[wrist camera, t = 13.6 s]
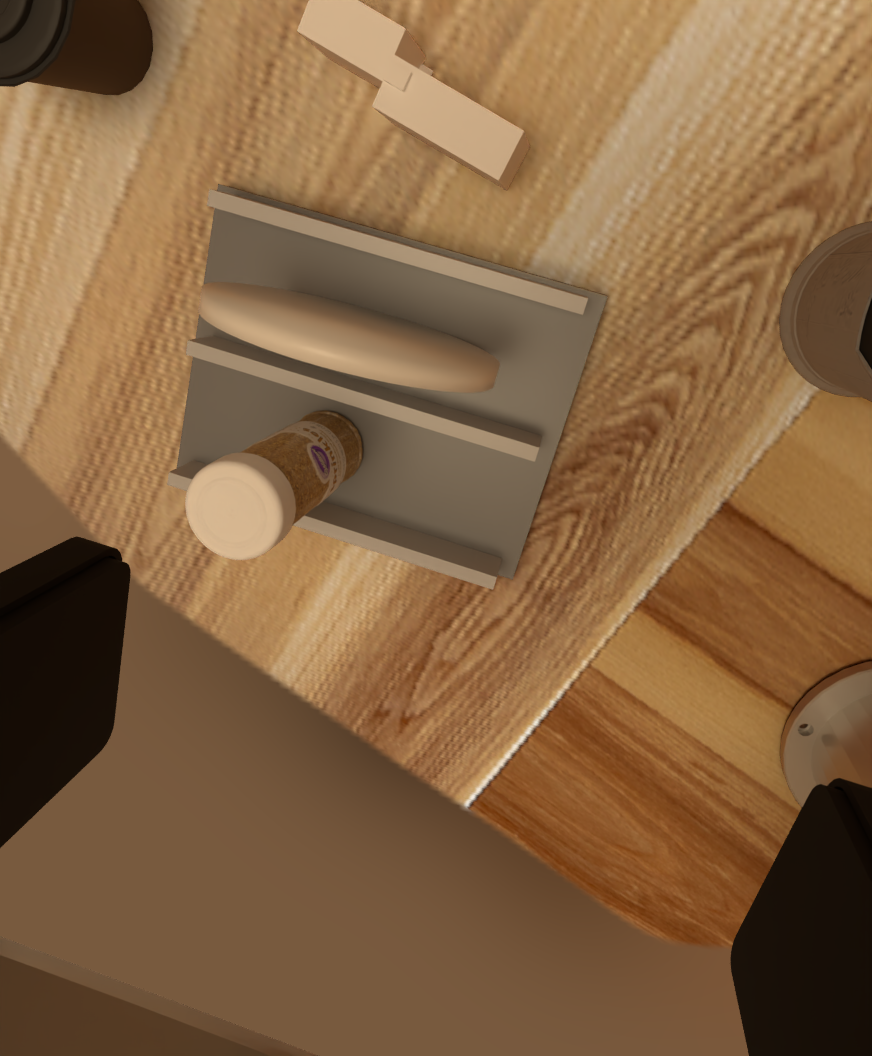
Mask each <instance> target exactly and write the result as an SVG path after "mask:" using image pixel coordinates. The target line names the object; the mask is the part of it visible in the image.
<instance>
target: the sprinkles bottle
mask: <svg viewBox="0 0 872 1056" xmlns="http://www.w3.org/2000/svg"><path fill="white" fill-rule="evenodd" d="M362 454H363V448H362V442H361V437H360V435H359V433H358V430H357V429H356V428H355V427H354V425H353V424H352V423H351V422H350V421H349V420H348V419H346V418H345V417H343V416H341V415H339V414H338V413H335V412H331V411H316V412H313V413H310V414H307V415H305V416H304V417H303V418H302V419H301V420H300V421H298V422H295V423H293V424H291V425H288V426H286V427H285V428H283V429H281V430H279V431H277V432H275V433H273V434H271V435H269V436H268V437H266V438H264V439H262V440H260V441H258V442H256V443H254V444H252V445H251V446H249V447H248V448H247V449H245V450H243V451H242V452H240V453H232V454H229V455H226V456H223V457H221V458H219V459H217V460H216V461H214V462H212V463H210V464H208V465H207V466H205V467H204V468H202V469H201V470H200V471H199V472H198V473H197V474H196V475H195V476H194V478H193V479H192V481H191V483H190V485H189V487H188V490H187V493H186V499H185V507H186V515H187V519H188V522H189V524H190V527H191V529H192V531H193V532H194V534H195V535H196V537H197V538H198V539H199V540H200V542H201V543H202V544H204V545H205V546H206V547H207V548H208V549H210V550H211V551H212V552H214V553H216V554H218V555H220V556H222V557H225V558H229V559H234V560H248V559H253V558H256V557H259V556H261V555H263V554H265V553H266V552H268V551H269V550H270V549H272V548H273V547H274V546H276V545H277V544H278V543H279V542H280V541H281V540H283V539H284V538H285V536H286V535H287V534H288V532H289V531H290V529H291V527H292V525H293V524H295V523H296V522H297V521H299V520H300V519H301V518H302V517H303V516H304V515H305V514H307V513H308V512H309V511H310V510H311V509H313V508H314V507H315V506H318V505H319V504H320V503H321V502H323V501H324V500H325V499H326V498H327V497H328V496H329V495H331V494H332V493H333V492H334V491H335V490H336V489H337V488H338V487H339V485H340V484H341V483H342V482H344V481H346V480H348V479H349V478H350V477H351V476H353V475H354V474H355V472H356V470H357V469H358V468H359V466H360V464H361V460H362Z"/></svg>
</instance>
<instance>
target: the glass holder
mask: <svg viewBox="0 0 872 1056" xmlns="http://www.w3.org/2000/svg"><path fill="white" fill-rule="evenodd" d="M779 324H780V336H781V340H782V345H783V348H784V351H785V353H786V355H787V357H788V359H789V361H790V363H791V364H792V365H793V367H794V368H795V369H796V371H797V372H798V373H799V374H800V375H801V376H802V377H803V378H805V379H806V380H807V381H808V382H809V383H811V384H813V385H814V386H816V387H818V388H819V389H822V390H824V391H827V392H830V393H832V394H836V395H842V396H847V397H863V398H865V399H867V400H869V401H872V222H867V223H861V224H858V225H855V226H853V227H850V228H847V229H844V230H843V231H841V232H839V233H837V234H835V235H833V236H832V237H830V238H828V239H827V240H826V241H824V242H823V243H822V244H820V245H819V246H818V247H816V248H815V249H814V250H813V251H812V252H811V253H810V254H809V255H808V256H807V257H806V258H805V259H804V260H803V262H802V263H801V264H800V266H799V267H798V269H797V270H796V271H795V273H794V274H793V276H792V278H791V280H790V282H789V284H788V286H787V288H786V291H785V294H784V297H783V300H782V303H781V310H780V318H779Z"/></svg>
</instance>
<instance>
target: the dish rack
mask: <svg viewBox="0 0 872 1056" xmlns="http://www.w3.org/2000/svg"><path fill="white" fill-rule="evenodd" d="M207 206H210V207H214V208H215V210H214V217H213V224H212V230H211V237H210V244H209V251H208V258H207V265H206V272H205V278H204V285H203V286H202V289H201V295H200V302H199V310H198V313H199V319H198V326H197V333H196V339H192V340H188V343H187V350H186V355H189V356H192V357H193V361H192V367H191V374H190V381H189V388H188V395H187V402H186V408H185V415H184V422H183V429H182V436H181V443H180V450H179V456H178V463H177V469H175V470H173V471H170V472H169V477H168V484H167V485H170V486H173V487H176V488H179V489H182V490H185V491H187V490H188V487H189V485H190V483H191V481H192V479H193V478H194V476H195V475H196V474H197V473H198V472H199V471H200V470H201V469H202V468H204V467H205V466H207V465H208V464H210V463H212V462H214V461H216V460H217V459H219V458H221V457H223V456H226V455H229V454H232V453H240V452H242V451H243V450H245V449H247V448H248V447H249V446H251V445H252V444H254V443H256V442H258V441H260V440H262V439H264V438H266V437H268V436H269V435H271V434H273V433H275V432H277V431H279V430H281V429H283V428H285V427H286V426H288V425H291V424H293V423H295V422H298V421H300V420H301V419H302V418H303V417H304V416H305V415H307V414H310V413H313V412H316V411H331V412H335V413H338V414H339V415H341V416H343V417H345V418H346V419H348V420H349V421H350V422H351V423H352V424H353V425H354V427H355V428H356V429H357V430H358V433H359V435H360V437H361V442H362V448H363V454H362V460H361V464H360V466H359V468H358V469H357V470H356V472H355V474H354V475H353V476H351V477H350V478H349V479H348V480H346V481H344V482H342V483H341V484H340V485H339V487H338V488H337V489H336V490H335V491H334V492H333V493H332V494H331V495H329V496H328V497H327V498H326V499H325V500H324V501H323V502H321V503H320V504H319V505H318V506H315V507H314V508H313V509H311V510H310V511H309V512H308V513H307V514H305V515H304V516H303V517H302V518H301V519H300V520H299V521H297V522H296V523H295V524H293V525H294V526H297V527H300V528H303V529H306V530H309V531H312V532H315V533H319V534H322V535H325V536H328V537H331V538H334V539H337V540H340V541H343V542H346V543H350V544H353V545H356V546H359V547H362V548H365V549H368V550H371V551H374V552H377V553H381V554H384V555H387V556H390V557H393V558H396V559H399V560H402V561H405V562H408V563H412V564H415V565H418V566H421V567H424V568H427V569H430V570H433V571H436V572H440V573H443V574H446V575H449V576H452V577H455V578H458V579H461V580H464V581H467V582H471V583H474V584H477V585H480V586H483V587H486V588H489V589H492V590H493V588H494V585H495V582H496V579H497V575H500V576H503V577H506V578H509V579H512V580H513V577H514V574H515V571H516V568H517V565H518V562H519V559H520V556H521V553H522V550H523V547H524V544H525V541H526V538H527V535H528V532H529V529H530V526H531V523H532V520H533V517H534V514H535V511H536V508H537V505H538V502H539V499H540V496H541V493H542V490H543V487H544V484H545V481H546V478H547V475H548V472H549V469H550V466H551V463H552V460H553V457H554V454H555V452H556V449H557V446H558V443H559V440H560V437H561V434H562V431H563V428H564V425H565V422H566V419H567V416H568V413H569V410H570V407H571V404H572V401H573V398H574V395H575V392H576V389H577V386H578V383H579V380H580V377H581V374H582V371H583V368H584V365H585V362H586V359H587V356H588V353H589V350H590V347H591V344H592V341H593V338H594V335H595V332H596V329H597V326H598V323H599V320H600V318H601V315H602V312H603V309H604V306H605V303H606V300H607V297H608V296H607V295H603V294H600V293H596V292H593V291H589V290H586V289H582V288H579V287H575V286H572V285H568V284H565V283H561V282H558V281H554V280H551V279H548V278H544V277H541V276H537V275H534V274H530V273H527V272H523V271H520V270H516V269H513V268H509V267H506V266H502V265H499V264H496V263H492V262H489V261H485V260H482V259H478V258H475V257H471V256H468V255H464V254H461V253H457V252H454V251H450V250H447V249H443V248H440V247H437V246H433V245H430V244H426V243H423V242H419V241H416V240H412V239H409V238H405V237H402V236H398V235H395V234H391V233H388V232H384V231H381V230H378V229H374V228H371V227H367V226H364V225H360V224H357V223H353V222H350V221H346V220H343V219H339V218H336V217H332V216H329V215H325V214H322V213H319V212H315V211H312V210H308V209H305V208H301V207H298V206H294V205H291V204H287V203H284V202H280V201H277V200H273V199H270V198H266V197H263V196H260V195H256V194H253V193H249V192H246V191H242V190H239V189H235V188H232V187H228V186H224V185H220V184H218V189H217V191H216V190H211V189H209V196H208V203H207Z"/></svg>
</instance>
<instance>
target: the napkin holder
mask: <svg viewBox="0 0 872 1056" xmlns="http://www.w3.org/2000/svg"><path fill="white" fill-rule="evenodd" d="M297 32H299V33H300V34H301V35H302V36H303V37H304V38H306V39H307V40H308V41H309V42H310V43H311V44H312V45H314V46H315V47H316V48H317V49H318V50H319V51H321V52H322V53H323V54H324V55H325V56H326V57H328V58H329V59H330V60H332V61H334V62H335V63H337V64H339V65H341V66H342V67H344V68H346V69H347V70H349V71H351V72H352V73H354V74H356V75H358V76H359V77H361V78H363V79H364V80H366V81H368V82H370V83H371V84H373V85H375V86H376V87H378V88H380V89H379V91H378V93H377V96H376V98H375V100H374V103H373V105H372V107H373V108H375V109H376V110H377V111H378V112H379V113H381V114H382V115H383V116H384V117H386V118H387V119H388V120H389V121H391V122H392V123H393V124H394V125H396V126H398V127H399V128H401V129H403V130H404V131H406V132H408V133H409V134H411V135H413V136H415V137H416V138H418V139H420V140H421V141H423V142H425V143H427V144H428V145H430V146H432V147H433V148H435V149H437V150H438V151H440V152H442V153H444V154H445V155H447V156H449V157H450V158H452V159H454V160H456V161H457V162H459V163H461V164H462V165H464V166H466V167H468V168H469V169H471V170H473V171H474V172H476V173H478V174H479V175H481V176H483V177H485V178H486V179H488V180H490V181H491V182H493V183H495V184H497V185H498V186H500V187H502V188H503V189H505V190H508V188H509V186H510V184H511V182H512V180H513V179H514V177H515V175H516V173H517V171H518V169H519V167H520V165H521V163H522V161H523V159H524V158H525V156H526V154H527V152H528V150H529V148H530V146H529V143H528V140H527V137H526V135H525V132H524V130H522V129H520V128H518V127H517V126H515V125H513V124H512V123H510V122H508V121H507V120H505V119H503V118H501V117H500V116H498V115H496V114H495V113H493V112H491V111H490V110H488V109H486V108H484V107H483V106H481V105H479V104H478V103H476V102H474V101H472V100H471V99H469V98H467V97H466V96H464V95H462V94H461V93H459V92H457V91H455V90H454V89H452V88H450V87H449V86H447V85H445V84H444V83H442V82H440V81H438V80H437V79H435V78H433V77H432V73H433V70H431V69H430V68H428V67H426V66H425V65H423V62H424V60H425V55H424V54H423V52H422V51H421V49H420V48H419V47H418V45H417V44H416V42H415V41H414V39H413V38H412V37H411V35H410V34H409V32H408V31H407V29H406V28H404V27H402V26H401V25H399V24H397V23H396V22H394V21H392V20H391V19H389V18H387V17H385V16H384V15H382V14H380V13H379V12H377V11H375V10H374V9H372V8H370V7H368V6H367V5H365V4H363V3H362V2H360V1H358V0H309V1H308V4H307V7H306V9H305V12H304V14H303V17H302V19H301V22H300V25H299V27H298V30H297Z"/></svg>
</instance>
